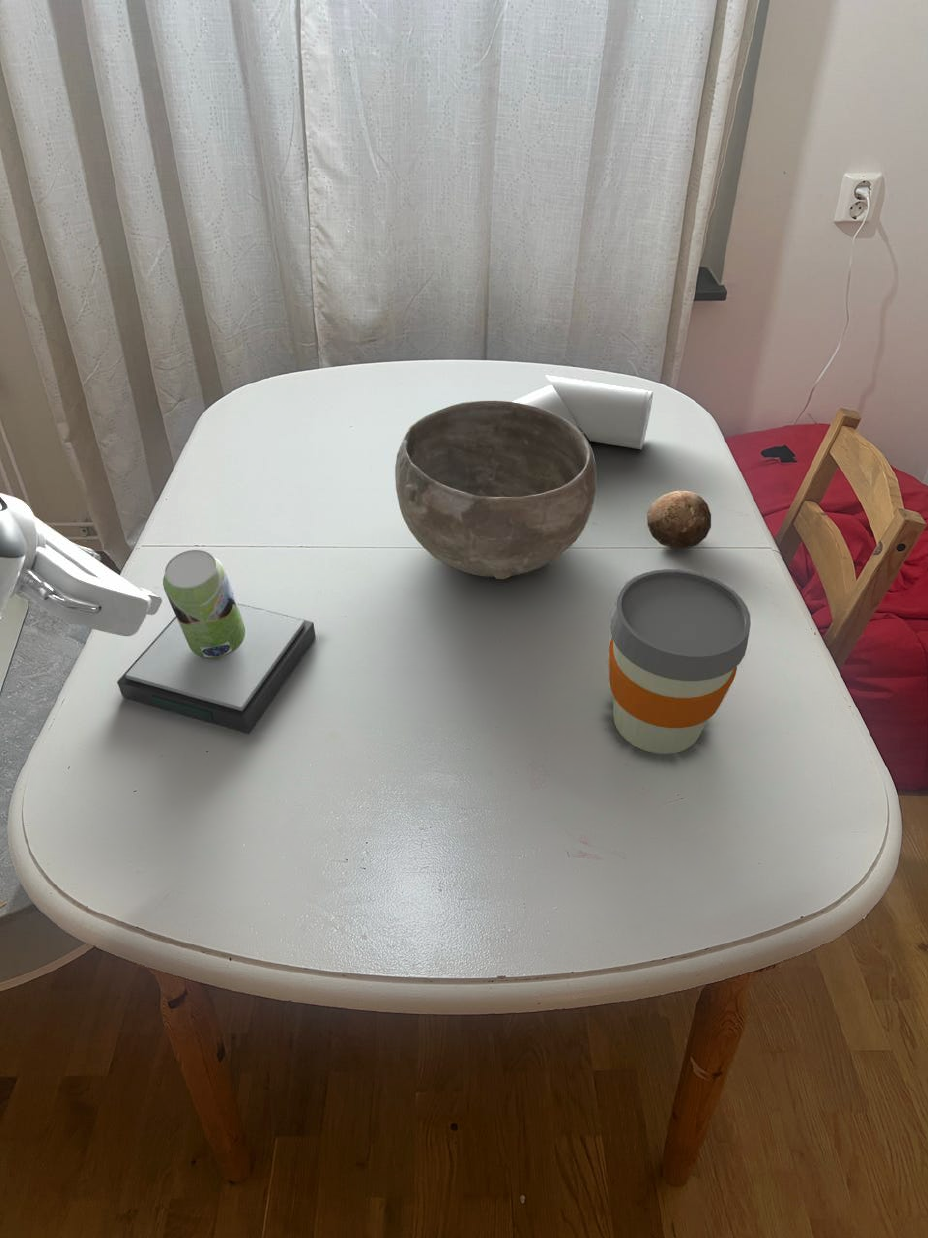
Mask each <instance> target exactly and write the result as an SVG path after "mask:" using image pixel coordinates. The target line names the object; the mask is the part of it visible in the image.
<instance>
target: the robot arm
mask: <svg viewBox="0 0 928 1238" xmlns="http://www.w3.org/2000/svg"><path fill="white" fill-rule="evenodd" d="M101 560H102V556H100V554H99V553H97V552H96V551H95V550H93V549H92V548H88V547H85V546H82V545H79V544H77V543H74V542H73V541H70V540H69V539H68V538H66V537H65V536H64V535H62V534H61V533H59V532H58V531H56V530H55V529H54V528H52V527H51V526H49V525H47V524H46V522H43V521H42V520H41V519H39V518H38V517H36V516H35V515H34V513H33V511H32V510H31V508H30V507H29V505H27V503H26V502H25V501H23V500H22V499H20V498H18V497H15V496H12V495H9V494H7V493H2V492H0V620H1V619H2V618H3V614H4V611H5V609H6V607H7V605H8V602H9V600H10V599H12V597H13V596H15V595H18V594H20V593H22V594H24V595H25V596H26V597H27V598H28V599H30V600H31V601H32V602H34V603H35V604H36V605H38V606H39V608H41V609H43V611H45V612H46V613H48V614H50V615H51V616H53V617H55V618H57V619H59V620H61V621H64V622H66V623H69V624H72V625H77V626H79V627H83V628H87V629H90V630H95V631H99V632H102V633H103V632H104V633H108V634H112V635H116V636H120V637H132V636H135V635H136V634H137V633H138V632H139V631H140V629H141V627H142V625H143V623H144V621H145V619H146V617H147V615H149V616H154V615H156V614H157V613H158V611H159V609H160V607H161V605H162V603H163V598H162V597H161V596H160V595H158V594H157V593H155V592H153V591H152V590H150V589H145V588H142V587H137V586H135V585H133V584H132V583H131V582H129V581H128V580H127V579H125V578H123V577H122V576H121V575H119V574H118V573H117V572H115V571H114V570H112V569H110V568H109V567H108V566H106V564H103V563H102V562H101Z"/></svg>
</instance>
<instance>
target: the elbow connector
mask: <svg viewBox="0 0 928 1238" xmlns="http://www.w3.org/2000/svg"><path fill="white" fill-rule="evenodd" d="M545 377H546V378H547V381H549V383H550V384H549V385H547V386H545V387H543V388H540V389H538V390H535V391H533V392H531V393H529V394H527V395H524V396H523V397H520V398H518V399H516V400H514V401H512V402H516V403H521V404H525V405H530V406H533V407H537V408H540V409H543V410H547V411H550V412H552V413H554V414H556V415H558V416H560V417H562V418H563V419H565V420H567V421H568V422H570V423H571V424H572V425H574V426H575V427H576V428H577V429H578V430H579V431H580V432H581V433H582V434H584V436H585V437H586V438H587V440H588V441H590V442H595V443H599V444H606V445H611V446H612V445H613V446H618V447H624V448H631V449H637V450H642V449H643V446H644V443H645V438H646V435H647V430H648V426H649V421H650V415H651V409H652V404H653V396H654V392H653V390H646V389H641V388H632V387H626V386H620V385H613V384H608V383H607V384H606V383H599V382H593V381H587V380H586V381H585V380H578V379H572V378H566V377H558V376H553V375H545Z"/></svg>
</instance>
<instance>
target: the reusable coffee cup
mask: <svg viewBox="0 0 928 1238" xmlns="http://www.w3.org/2000/svg"><path fill="white" fill-rule="evenodd" d="M751 620H752V619H751V614H750V610H749V608H748V606H747V604H746V603H745V601H744V599H743V598H742V597H741V595H739V594H738V593H737V592H736V591H735V590H734V589H732V588H731V587H730V586H728V585H727V584H725V583H724V582H722V581H720V580H718V579H717V578H714V577H711V576H709V575H707V574H704V573H700V572H697V571H692V570H687V569H680V568H679V569H678V568H664V569H656V570H651V571H647V572H643V573H641V574H639V575H636V576H634V577H633V578H632V579H630V580H629V581H627V582H626V583H625V584H624V586H623V587H622V588H621V589H620V591H619V593H618V595H617V598H616V600H615V604H614V607H613V611H612V614H611V616H610V622H609V630H610V631H609V632H610V637H611V638H610V640H609V645H608V683H609V689H610V692H611V694H612V716H613V723H614V725H615V727H616V730H617V732H618V733H619V734H620V735H621V736H622V738H624V739H625V741H627V743H630V744H631V745H632V746H634V747H636V748H638V749H640V750H642V751H645V752H648V753H652V754H659V755H670V754H677V753H680V752H683V751H686V750H687V749H689V748H691V747H692V746H693V745H694V744H696V742H697V741H698V739H699V738H700V735H701V733H702V732H703V730H704V728H705V726H706V724H707V722H708V720H709V719H711V718H712V717H713V716H714V715H715V714H716V713H717V712H718V710H719V708H720V707H721V704H722V702H723V701H724V699H725V697H726V695H727V693H728V692H729V690H730V687H731V685H732V684H733V682H734V680H735V678H736V674H737V670H738V666H739V665H740V664H741V662H742V661H743V659H744V658H745V656H746V654H747V653H746V652H747V648H748V644H749V639H750V638H749V637H750V631H751V626H752V623H751Z"/></svg>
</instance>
